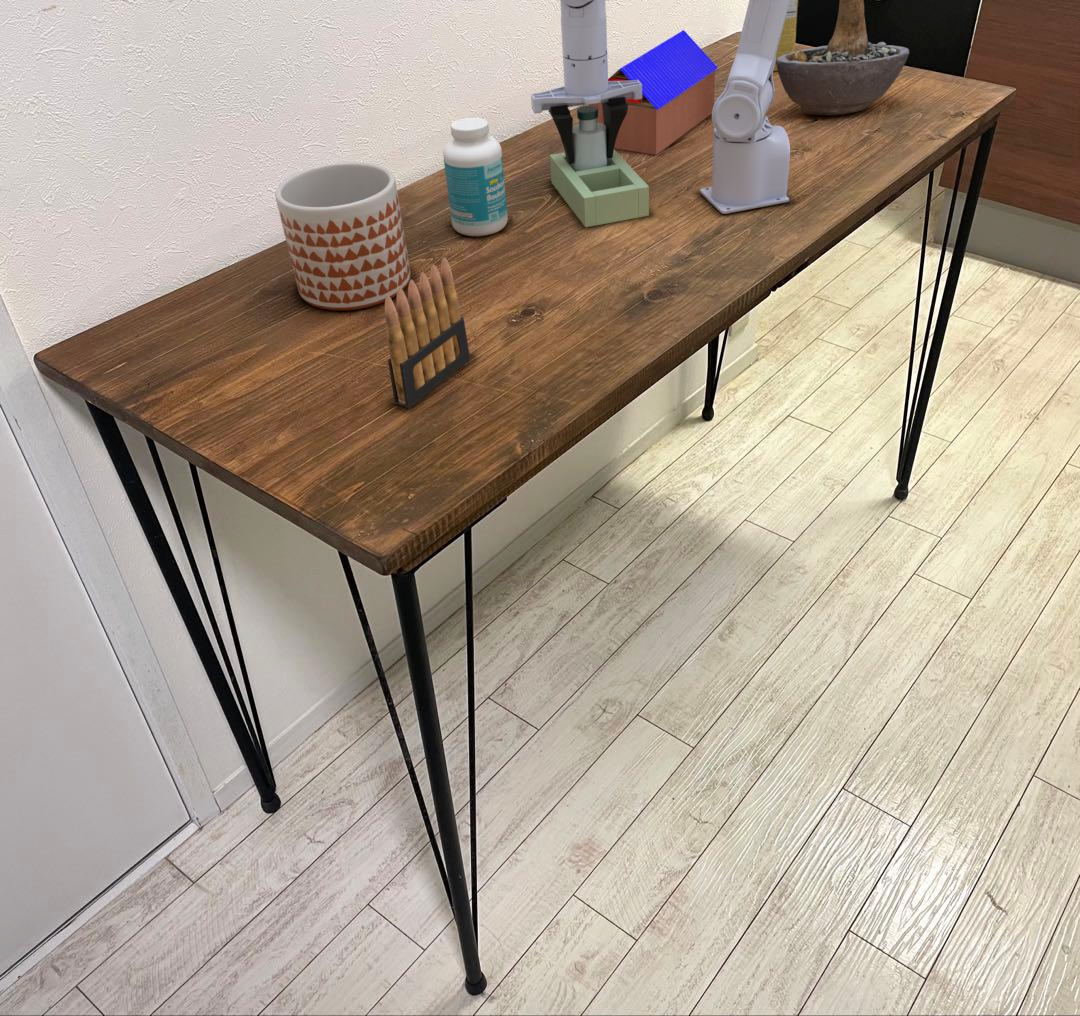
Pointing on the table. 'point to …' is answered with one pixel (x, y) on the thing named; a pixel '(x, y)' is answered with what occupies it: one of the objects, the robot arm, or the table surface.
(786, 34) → the candy box
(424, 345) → the ammunition clip
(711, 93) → the house
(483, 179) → the pill bottle
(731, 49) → the table surface
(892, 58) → the planter
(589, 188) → the tray
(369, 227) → the patterned ceramic pot
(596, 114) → the bottle
